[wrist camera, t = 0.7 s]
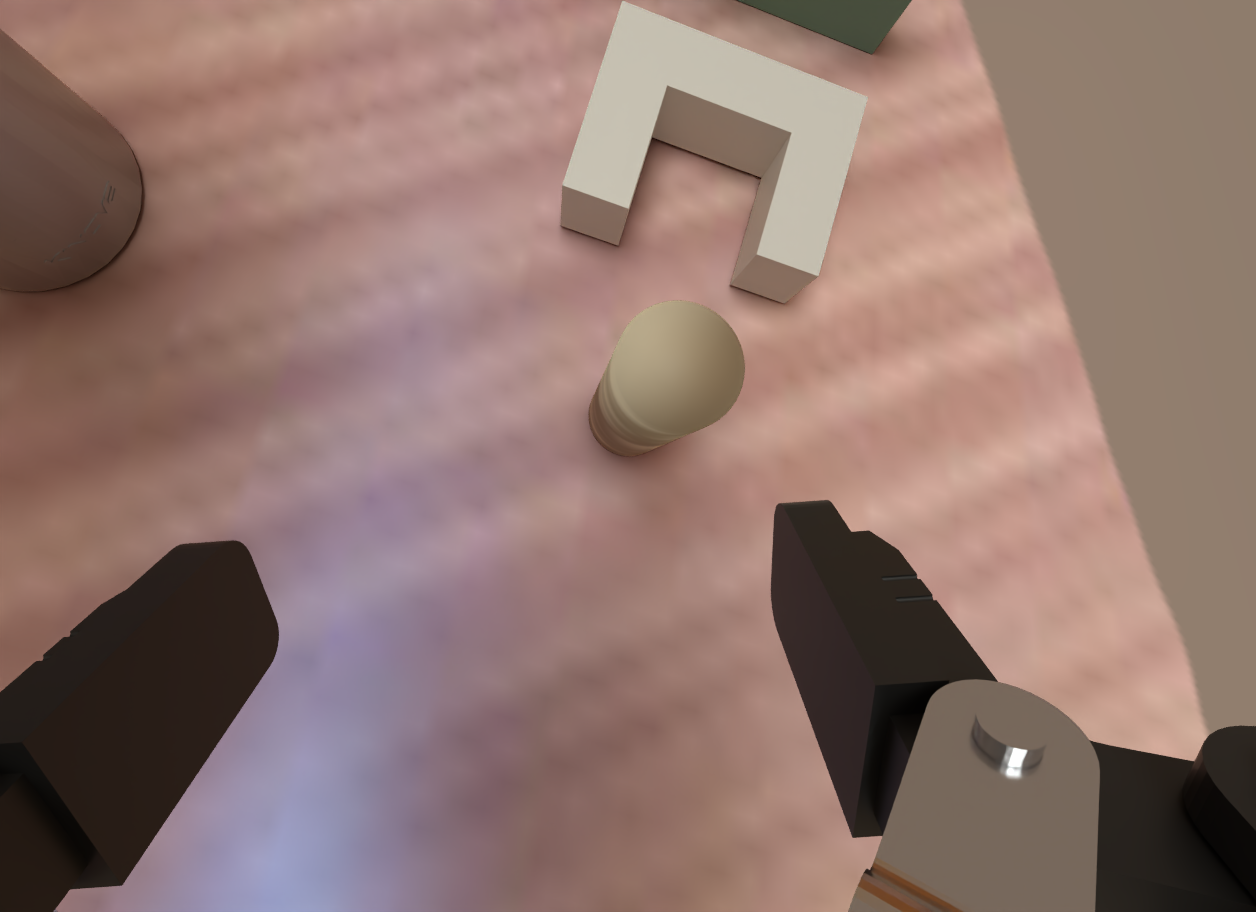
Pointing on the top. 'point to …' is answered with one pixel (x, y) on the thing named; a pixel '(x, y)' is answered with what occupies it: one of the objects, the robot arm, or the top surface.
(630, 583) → the top surface
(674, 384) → the dowel
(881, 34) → the wall
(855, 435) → the top surface
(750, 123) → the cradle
